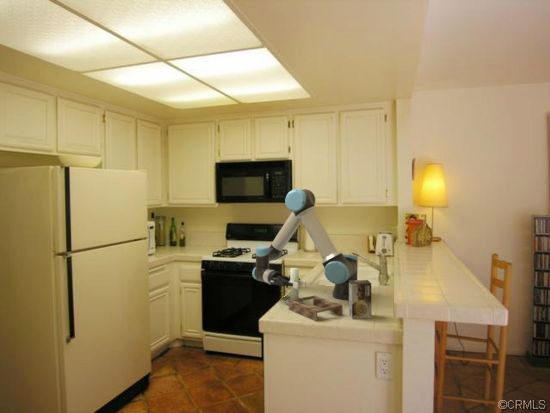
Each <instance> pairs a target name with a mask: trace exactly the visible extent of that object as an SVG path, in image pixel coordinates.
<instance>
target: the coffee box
mask: <svg viewBox="0 0 550 413" xmlns="http://www.w3.org/2000/svg"><path fill="white" fill-rule="evenodd" d="M348 316H350V318H351V319H352V320H357V319H360V320H361V319H363V320H364V319H372V318H373V317H372V283H371V282H370V281H369V280H368V279H364V280H362V279H360V280H358V279H357V280H349V300H348Z"/></svg>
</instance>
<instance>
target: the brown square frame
mask: <svg viewBox="0 0 550 413" xmlns="http://www.w3.org/2000/svg"><path fill="white" fill-rule="evenodd" d="M307 300H313V301H312V302H313V303H312V304H313V305H307V304H304V303H303V304H302V303H299V302H297V301H303V302H304V301H307ZM288 311H292V312H293V313H296V314H298V315H300V316H303V317H304V318H307V319H309V320H312V321H314V322H317V321H318V313H323V312H328V311H329V312H331V313H334V314H337V315H339V316H343V314H344V306H343V305H342V304H340V303H337V302H335V301H331V300H329V299H325V298H323V297H320V296H316V295H310V296H305V297H300V298H299V299H293V300H289V306H288Z"/></svg>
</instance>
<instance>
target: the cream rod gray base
mask: <svg viewBox="0 0 550 413" xmlns="http://www.w3.org/2000/svg"><path fill="white" fill-rule="evenodd" d="M289 274H290V281H292V282H296V283H298V289H296V288H293V287H289V292H290V293H289V294H290V295H289V296H290V297H289V298H288V299H286V300H285V306H288V307H289V300H293V299H299V293H300V292H299V289H300V288H299V287H300V286H299V279H300V278H299V277H300V276H299V274H300V270H299V268H298V267H291V268H290V269H289ZM297 302H299V303H302V304H304V300H303V301H297Z"/></svg>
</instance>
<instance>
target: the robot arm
mask: <svg viewBox="0 0 550 413" xmlns="http://www.w3.org/2000/svg"><path fill="white" fill-rule="evenodd" d="M284 201H285V203H284V204H285V206H286V208H287V209H288V210H289V211H291V213H290V214H289V216H288V217H287V219H286V221H285V222H284V224H283V226H281V228H280V229H279V231H278V233H277V234H276V236H275V238H274V239H273V241H272V242H271V244H270V245H269V246H266V245H262V246H261V245H260V246H257V247H256V248H255V267H254V268H253V269H252V273H251V274H252V277H253V278H254V280H256V281H258V282H262V283H266V284H268V285H273V286H280V287H285V288H287V289H288V288H290V287H293V288H296V289H298V283H296V282H292V281H290V275H288V276H285V275H283V274H282V273H281V272H280V271H278V270H275V269H270V262H272V261H275V260H278V259H279V258H281V257H282V254H283V253H282V252H283V250H284V249H285V247H286V245H287V244H288V242H289V241H290V240H291V238H292V237H293V236H294V234H295V232H296V231H297V229H298V227H300V224H301V223H302V224H303V227H304V228H305V229H306V230H305V231H307V233H308V236H309V238H310V239H311V241H312V242H313V244H314V246H315V247H316V249H317V252H318V253H319V255H320V256H321V258H322V262H321V265H322V267H323V268H324V276H325V278H326V280H327V281H328V282H330V283H332V284H334V287H333V289H332V297H333V298H335V299H338V300H346V301H347V300H348V301H349V280H358V271H359V270H358V268H359V266H358V263H359V261H358V256H357V255H356V254H347V253H346V254H345V253H343V252H341V251H338V249H337V248H336V247H335V244H334V243H333V241H332V239H331V237H330V236H329V234H328V232H327V231H326V229H325V227H324V226H323V223H322V222H321V220H320V218H319V216H318V215H317V214H316V212H315V210H316V205H315V204H316V196H315V193H313V191H311V190H310V189H306V188H305V189H300V188H296V189H291V190H290V191H289V192H288V193H287V194H286V196H285V200H284ZM306 284H307V281H305V280H301V279H300V278H299V287H302V288H306V287H307V285H306Z"/></svg>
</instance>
